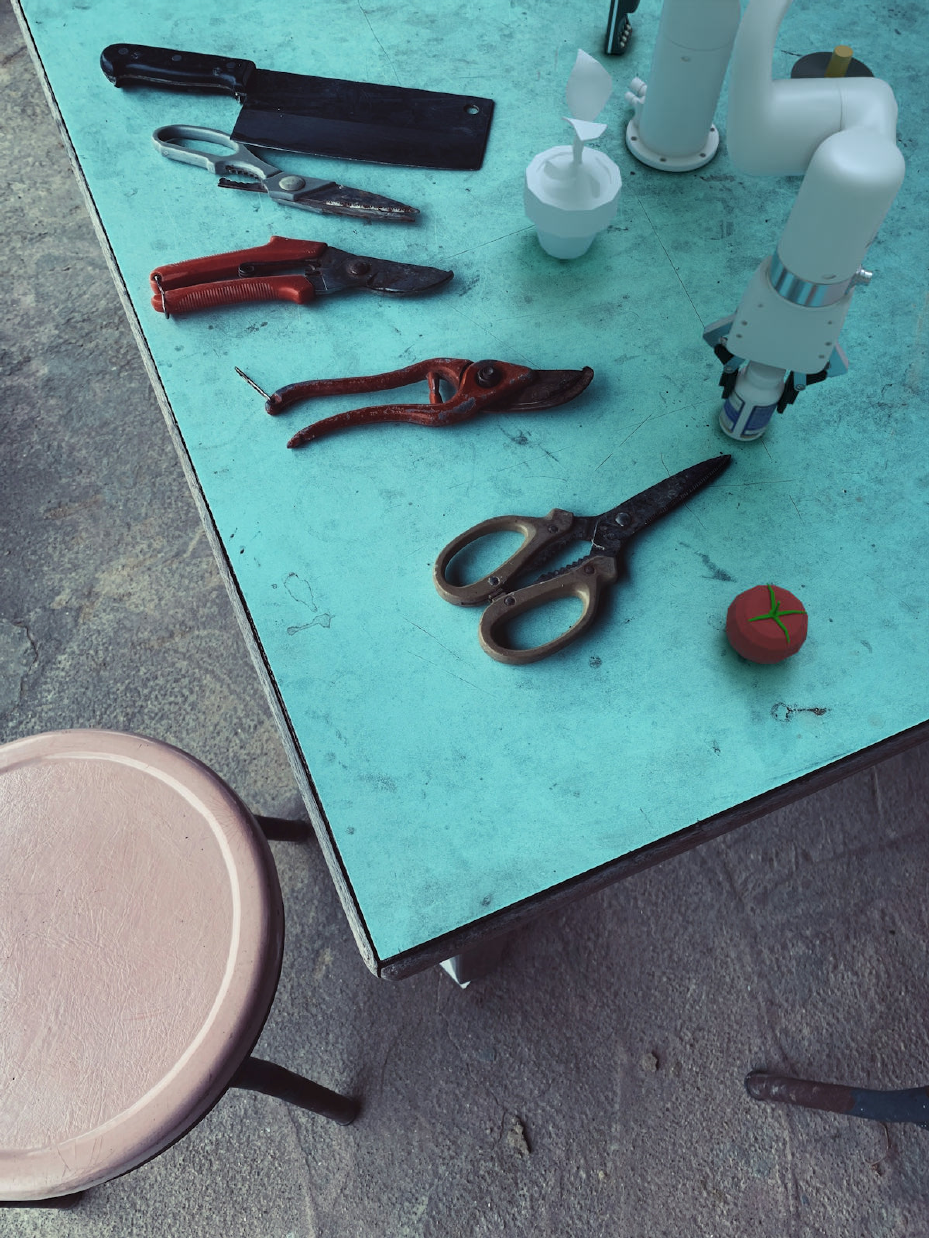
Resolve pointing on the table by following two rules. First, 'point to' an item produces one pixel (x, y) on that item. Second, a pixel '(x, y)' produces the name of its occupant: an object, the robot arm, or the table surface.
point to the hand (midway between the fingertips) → (754, 395)
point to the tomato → (766, 624)
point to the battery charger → (619, 25)
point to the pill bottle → (752, 401)
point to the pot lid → (830, 65)
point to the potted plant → (575, 171)
